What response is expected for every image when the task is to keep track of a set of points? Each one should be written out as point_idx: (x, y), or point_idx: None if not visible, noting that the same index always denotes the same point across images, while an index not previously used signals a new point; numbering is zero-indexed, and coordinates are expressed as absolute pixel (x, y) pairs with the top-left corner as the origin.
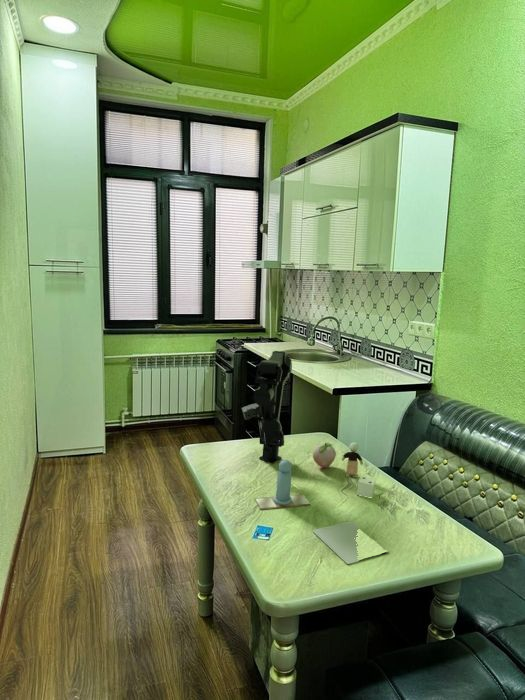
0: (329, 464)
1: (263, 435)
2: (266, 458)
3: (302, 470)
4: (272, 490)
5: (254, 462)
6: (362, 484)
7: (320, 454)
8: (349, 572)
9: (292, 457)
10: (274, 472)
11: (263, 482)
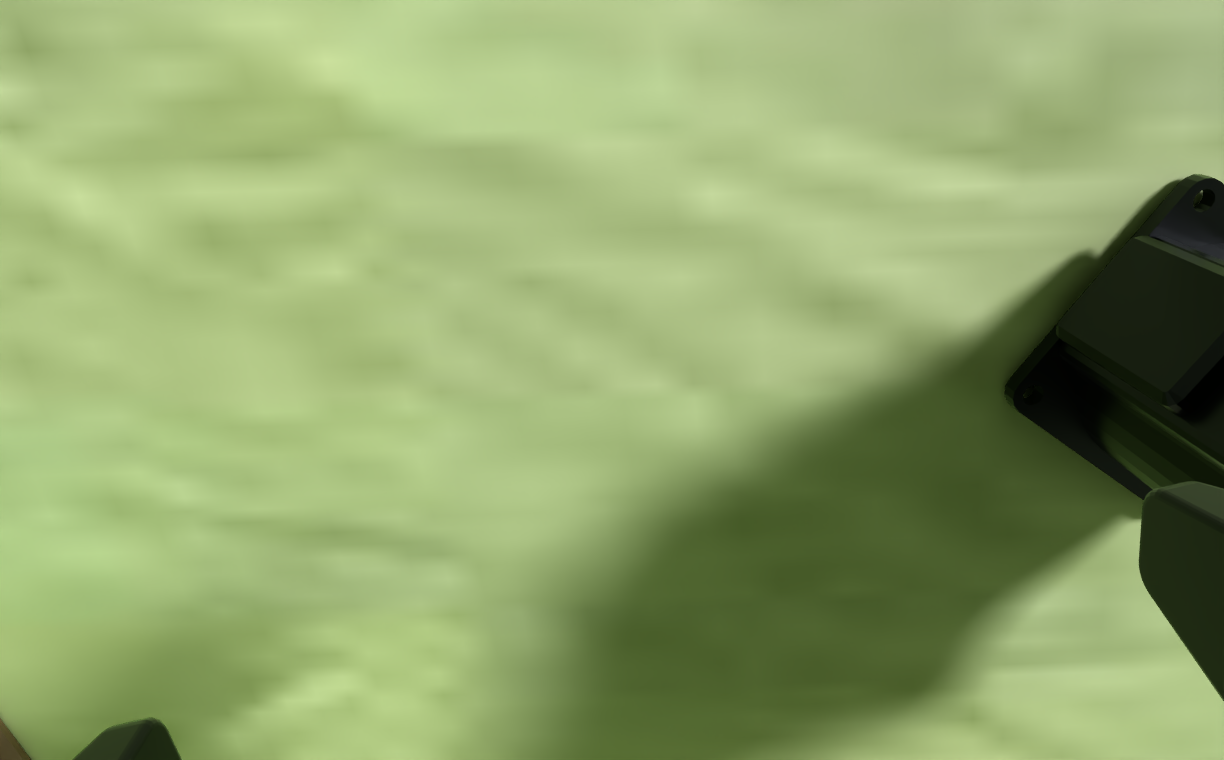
0: None
1: (1153, 580)
2: (1091, 316)
3: (787, 757)
4: (39, 419)
5: (1059, 94)
6: None
7: None
8: None
9: None
10: (691, 426)
11: (291, 273)
